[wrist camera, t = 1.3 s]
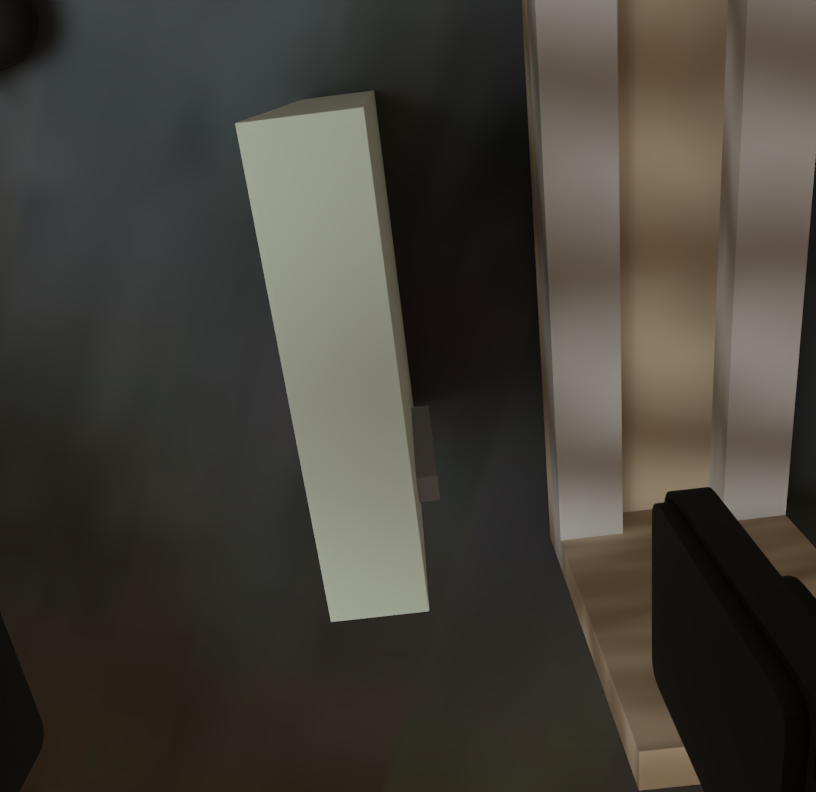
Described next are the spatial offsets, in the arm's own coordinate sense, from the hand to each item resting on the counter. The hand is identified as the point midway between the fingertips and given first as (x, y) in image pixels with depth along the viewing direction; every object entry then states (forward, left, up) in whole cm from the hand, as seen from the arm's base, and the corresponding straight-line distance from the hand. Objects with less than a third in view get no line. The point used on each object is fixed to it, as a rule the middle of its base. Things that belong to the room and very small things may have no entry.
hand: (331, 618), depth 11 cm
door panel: (0, 0, -20) cm, 20 cm away
